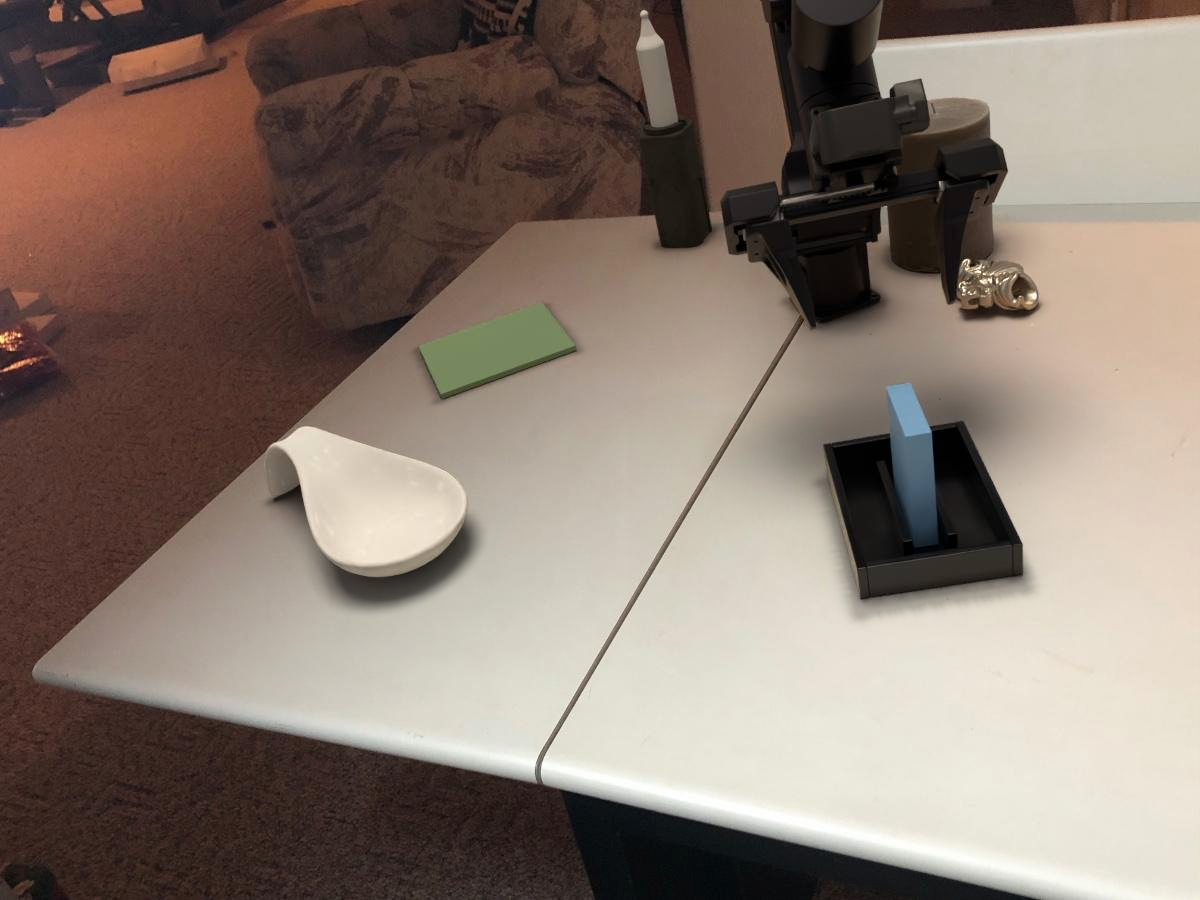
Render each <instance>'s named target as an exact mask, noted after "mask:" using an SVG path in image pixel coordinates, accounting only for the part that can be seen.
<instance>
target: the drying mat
mask: <svg viewBox="0 0 1200 900" xmlns="http://www.w3.org/2000/svg"><path fill="white" fill-rule="evenodd" d="M418 350H419V352H420V354H421V356H422V358H423V360H424V362H425V365H426V367H427V369H428V371H429V374H430V376H431V378H432V380H433V382H434V385H435V387H436V390H437V391H438V393H439V395H440V398H441V399H442V400H444V399H446V398H449V397H451V396H454V395H457V394H460V393H463V392H467V391H468V390H471V389H474V388H476V387H479V386H483V385H485V384H487V383H490V382H492V381H493V382H494V381H495V380H498V379H502V378H504V377H507V376H511V375H512V374H515V373H518V372H521V371H524V370H526V369H529V368H532V367H534V366H537V365H540V364H542V363H545V362H549V361H551V360H553V359H556V358H559V357H561V356H564V355H568V354H571V353H573V352H575V351H577V347H576V345H575V343H574V342H573V340H572V339H571V338H570V336H569V335H568V334H567V332H566V331H565V330H564V328H563V327H562V325H560V323H559V322H558V320H557V319H556V318H555V317H554V316H553V314H552V313H551V312H550V310H549V309H548V308H547V306H546V305H545V303H544V302H543V301H541V302H538V303H535V304H533V305H530V306H527V307H524V308H521V309H517V310H516V311H513V312H509V313H506V314H504V315H501V316H498V317H495V318H492V319H489V320H487V321H484V322H481V323H479V324H475V325H473V326H470V327H467V328H465V329H461V330H459V331H456V332H453V333H450V334H448V335H445V336H441V337H439V338H436V339H433V340H430V341H427V342H425V343H421V344H419V345H418Z"/></svg>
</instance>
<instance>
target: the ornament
mask: <svg viewBox="0 0 1200 900" xmlns="http://www.w3.org/2000/svg"><path fill="white" fill-rule="evenodd" d="M970 264H971V260H970V259H965V260H963V261H962V263H961V265H960V267H959V275H958V283H957V292H956V297H957V298H958V299H960V305H961V308H962V309H964V310H975V309H978V308H979V306H981V307H983V308H985V309H988V308H991V307H993V305H994V304H995V305H996V306H997V307H999V308H1001V309H1002V310H1005V311H1020V310H1024V309H1025V310H1027V311H1028V310H1033V309H1035V308H1036V307H1037V304H1038V302H1039V298H1040V294H1039V289H1038V288H1037V285H1036V283H1035V282H1034V279H1032V277H1031V276H1029V275H1028V274H1027V273H1026V272H1024V267H1023V265H1021V264H1020V263H1017V262H1014V261H1010V260H1007V259H1004V260H995V259H994V260H991V261H987V260H985V259H980V260H976V261H975V264H974V265H973V266H971V265H970ZM1015 295H1016V296H1017V295H1018V297H1017V298H1016V297H1014V296H1015Z"/></svg>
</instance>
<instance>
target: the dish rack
mask: <svg viewBox="0 0 1200 900" xmlns="http://www.w3.org/2000/svg"><path fill="white" fill-rule="evenodd" d="M966 425H967V424H965V421H964V420H957V421H952V422H947V423H941V424H936V425H929V427H930V430H931V432H932V446H933V462H934V478H935V495H936V511H937V527H938V544H937V545H931V546H924V547H918V548H914V547H913V542H912V538H911V535H910V532H909V529H908V526H907V524H906V521H905V518H904V515H903V512H902V509H901V506H900V504H899V501H898V498H897V495H896V492H895V486H894V475H893V463H892V452H891V440H890V432H888V433H882V434H876V435H870V436H863V437H858V438H852V439H846V440H841V441H833V442H828V443H823V444H822V448H823V456H824V464H825V470H826V471H825V472H826V475H827V479H828V484H829V486H830V490H831V494H832V498H833V502H834V506H835V509H836V513H837V517H838V520H839V524H840V529H841V532H842V535H843V539H844V543H845V546H846V550H847V554H848V558H849V562H850V566H851V569H852V572H853V577H854V580H855V584H856V588H857V592H858V595H859V600H867V599H868V600H869V599H873V598H881V597H887V596H893V595H894V596H895V595H900V594H907V593H914V592H922V591H928V590H934V589H941V588H948V587H954V586H961V585H968V584H976V583H981V582H988V581H995V580H1001V579H1008V578H1015V577H1022V576H1024V544H1023V541H1022V540H1021V537H1020V535H1019V532H1018V530H1017V529H1016V527H1015V525H1014V523H1013V521H1012V519H1011V516H1010V514H1009V512H1008V510H1007V508H1006V506H1005V504H1004V502H1003V500H1002V497H1001V495H1000V494H999V492H998V489H997V488H996V486H995V483H994V481H993V479H992V477H991V475H990V473H989V470H988V468H987V467H986V465H985V463H984V460H983V458H982V456H981V455H980V452H979V449H978V447H977V445H976V444H975V441H974V439H973V437H972V436H971V434H970V431H969V429H968V427H967V426H966Z"/></svg>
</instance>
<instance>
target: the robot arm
mask: <svg viewBox="0 0 1200 900" xmlns="http://www.w3.org/2000/svg"><path fill="white" fill-rule="evenodd" d="M759 1H760V2H761V7H762V13H763V17H764V21H765V23H767V24H768V29H769V33H770V40H771V45H772V51H773V55H774V61H775V67H776V71H777V78H778V82H779V88H780V93H781V99H782V104H783V110H784V115H785V122H786V127H787V132H788V137H789V142H790V147H789V149H788V151H786V155H785V158H784V161H783V164H782V166H781V176H780V178H781V179H780V180H781V181H780V189H781V193H780V194H779V188H778V185H777V183H776V181H775V180H774V181H768V182H764V183H763V182H762V183H759V184H754V185H749V186H745V187H739V188H734V189H730V190H726V191H725V193H724V194H723V196H722V198H721V199H720V201H719V203H720V209H721V216H722V223H723V228H724V236H725V241H726V246H727V252H728V255H732V256H740V255H741V256H742V255H745V254H746V255H747V260H748V262H749V263H763V265H765V266H766V267H767V269H768V270H769V271H770V272H771V274H772V275H773V276H774V277H775V278H776V280H777V281H778V282H779V283H780V284H781V286H782V287H783V288H784V290H785V291H786V293H787V294H788V296H789V300H790V302H792V303H793V304H794V306H795V307H796V309H797V311H798V312H799V314H800V316H801V317H802V319H803V320H804V322H805V324H806V325H807V328H808V329H809V330H810V331H814V330H816V329H817V322H819V323H824V322H827V321H830V320H833V319H835V318H838V317H841V316H843V315H847V314H849V313H852V312H855V311H857V310H860V309H863V308H865V307H868V306H870V305H871V306H872V305H873V304H876V303H878V302H880V301H881V295H880V293H878V292H877V291H875V290H873V289H872V285H871V273H870V264H869V252H868V244H869V243H872V244H873V243H878V242H879V235H880V234H881V233H882V222H881V221H882V220H881V212H882V208H883V207H887V206H889V205H894V204H899V203H904V202H909V201H914V200H920V199H925V198H930V197H932V199H933V204H934V207H936V208H938V210H937V213H936V215H935V218H934V221H933V224H934V231H935V239H936V246H937V253H938V261H939V268H940V272H939V274H940V281H941V288H942V291H943V296H944V298H945V302H946V304H947V305H948V306H951V305H954V304H955V303H956V299H957V283H958V275H959V266H960V258H961V248H962V242H963V236H964V231H965V227H966V224H967V221H971V220H974V219H976V218H977V217H978V215H979V213H980V210H981V208H982V207H986V206H988V205H990V204H992V205H993V204H994V203H995V201H996V198H997V197H998V194H999V192H1000V191H1001V187H1002V186H1003V183H1004V181H1005V179H1006V177H1007V175H1008V173H1009V168H1008V165H1007V161H1006V156H1005V152H1004V148H1003V147H1002V146H1001V145H1000V144H999V143H997V142H996V141H995V140H994V139H993V138H985V139H980V140H975V141H970V142H965V143H960V144H955V145H950V146H945V147H940V148H938V151H937V154H936V158H935V161H934V164H933V168H928V169H923V170H918V171H913V172H908V173H903V174H898V175H897V170H896V166H897V165H901V162H902V158H903V156H902V151H901V149H902V148H903V142H902V136H905V135H910V134H915V133H920V132H923V131H925V130H926V129H928V127H929V126H930V117H929V110H928V103H927V100H928V98H927V95H926V91H925V87H924V83H923V79H922V78H917V79H915V78H914V79H911V80H906V81H902V82H897V83H894V84H893V85H892V87H890V89H889V91H888V92H889V97H884V98H883V97H882V94H881V91H880V86H879V81H878V75H877V72H876V67H875V63H874V58H873V54H874V52H875V50H876V47H877V44H878V40H879V33H880V27H881V20H882V14H883V7H884V0H759Z"/></svg>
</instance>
